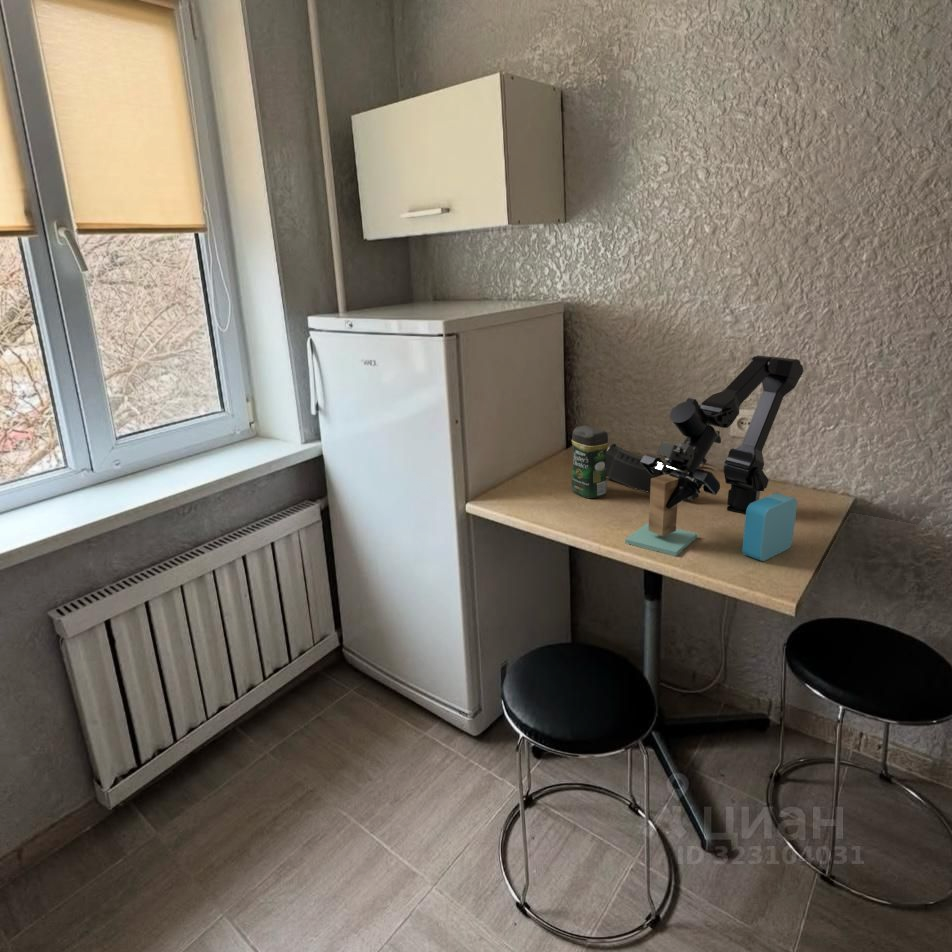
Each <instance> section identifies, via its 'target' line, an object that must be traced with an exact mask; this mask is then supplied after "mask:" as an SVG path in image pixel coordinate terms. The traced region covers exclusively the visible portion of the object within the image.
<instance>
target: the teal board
mask: <svg viewBox="0 0 952 952" xmlns="http://www.w3.org/2000/svg"><path fill="white" fill-rule="evenodd" d="M697 538H698V533H697V532H693V531H688V530H684V529H680V528H676V531H674V532H672V533H669V534H666V535H664V536H661V535H658V534H656V533H653V532H651V531H649V521H648V522H646V523H645V524H643V525H642V526H641V527H639V528H638V529H637V530H635V531H634V532H632V534H630V535H628V537H626V538H625V539H624V541H625V542H624V544H626V543H628V544H627V545H630V544H631V546H634V545H635V547H638V546H639V548H641V549H642V548H643V549H645V548H647V549H646V550H649V549H650V550H651V551H653V550H654V552H657V551H659V552H658V553H661V552H662V554H665V555H669V556H672V555H673V556H672V557H677V556H678V555H679V554H681V552H683V551H682V550H683V549H684V548H685V549H686V548H688V546H689V545H690V544H691V543H692V541H693V542H694V541H695V540H696V539H697ZM685 549H684V550H685ZM650 550H649V551H650Z"/></svg>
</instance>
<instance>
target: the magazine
mask: <svg viewBox="0 0 952 952" xmlns="http://www.w3.org/2000/svg"><path fill="white" fill-rule="evenodd" d="M642 458H643V456H642V455H639V454H636V453H633V452H631V451H628V450H626V449H623V448H622V447H620V446H618V445H617V444H616V443H614V442H613V443H611V444H610V445H608V447H607V451H606V478H608V481H609V480H611V481H612V480H613V481H615V482H617V483H620V484H622V485H623V486H624V485H625V486H626V485H627V487H628V486H630V487H629V488H631V487H633V488H632V489H634V488H637V489H641V490H644V491H648V492H650V487H651V479H652V478H654V476H653V475H651V474H649V473H648V471H647V470H646V469H645V468H644V467H643V466H642V465H641V463H640V461H641V459H642ZM662 461H663V462H664V464H665V465H670V464H669V463H667V462H666V460H665V461H664V460H662ZM673 472H674V471H673ZM669 476H672V475H669ZM672 477H675V476H672ZM675 478H678V479H679V477H675ZM637 489H636V490H637ZM641 490H640V491H641ZM644 491H643V492H644ZM648 492H647V493H648ZM699 495H700V493H699V494H698V493H696V494H694V495H692V496H690V497H688V498H686V499H687V500H690V501H694V500H696V499H698V498H699ZM686 499H685V500H686Z"/></svg>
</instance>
